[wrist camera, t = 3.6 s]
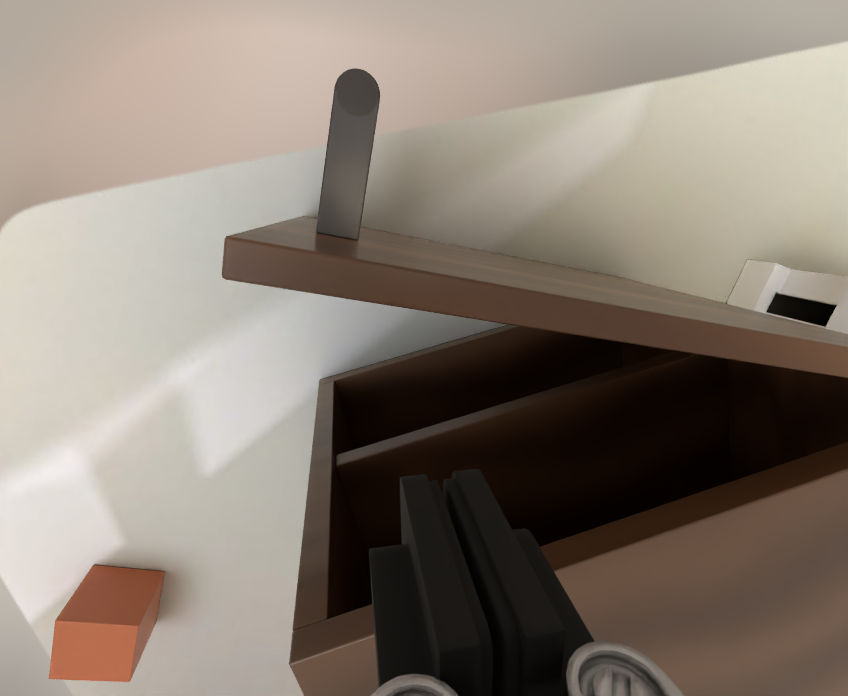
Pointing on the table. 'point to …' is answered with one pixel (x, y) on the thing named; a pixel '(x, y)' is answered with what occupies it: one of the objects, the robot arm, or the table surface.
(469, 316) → the cupboard door
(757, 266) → the tape dispenser
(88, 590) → the block
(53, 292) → the table surface
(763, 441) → the cupboard
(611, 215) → the table surface
